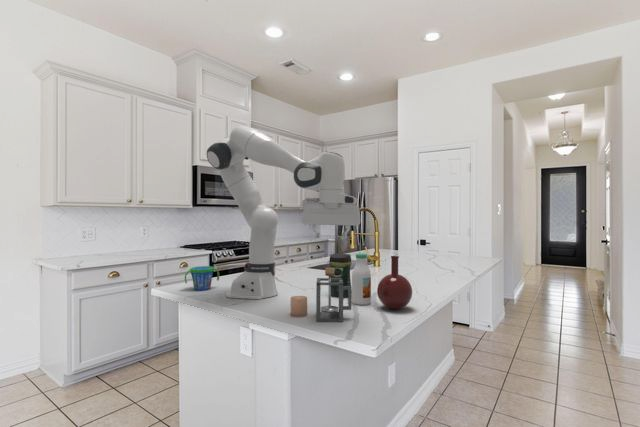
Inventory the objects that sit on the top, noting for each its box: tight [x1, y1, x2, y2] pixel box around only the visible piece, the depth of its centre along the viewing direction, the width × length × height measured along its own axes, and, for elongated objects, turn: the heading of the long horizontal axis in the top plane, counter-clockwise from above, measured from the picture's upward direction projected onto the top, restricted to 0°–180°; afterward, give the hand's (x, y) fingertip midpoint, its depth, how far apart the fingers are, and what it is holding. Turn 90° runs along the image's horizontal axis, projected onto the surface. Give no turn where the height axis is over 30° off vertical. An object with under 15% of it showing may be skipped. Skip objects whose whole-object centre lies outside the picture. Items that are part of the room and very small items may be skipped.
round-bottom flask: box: [376, 255, 413, 310], centre depth 138 cm, size 13×13×20 cm
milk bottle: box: [351, 252, 372, 306], centre depth 146 cm, size 8×8×20 cm
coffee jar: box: [328, 252, 352, 298], centre depth 159 cm, size 10×8×19 cm
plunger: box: [320, 267, 339, 313], centre depth 125 cm, size 6×6×15 cm
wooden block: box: [290, 295, 308, 318], centre depth 130 cm, size 6×6×6 cm
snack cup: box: [184, 265, 220, 291], centre depth 170 cm, size 16×10×10 cm
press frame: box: [315, 277, 352, 323], centre depth 125 cm, size 12×9×13 cm
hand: (330, 238), depth 126 cm, fingers open, 8 cm apart
